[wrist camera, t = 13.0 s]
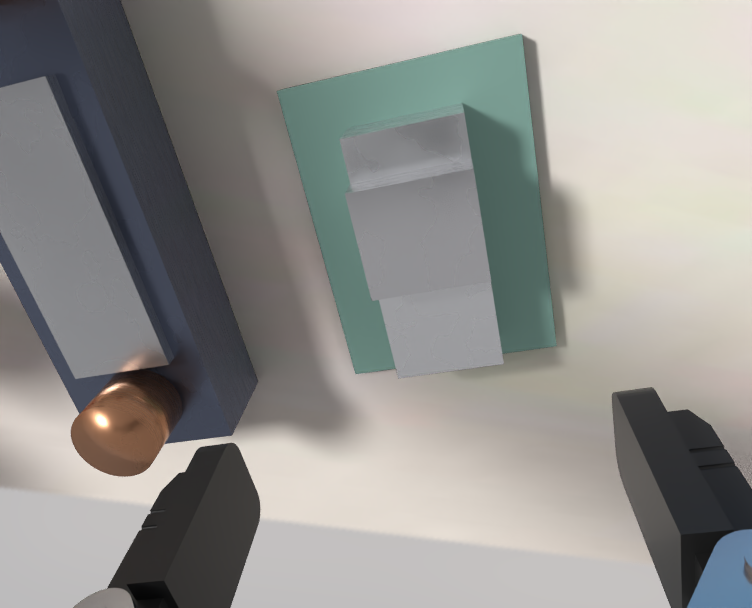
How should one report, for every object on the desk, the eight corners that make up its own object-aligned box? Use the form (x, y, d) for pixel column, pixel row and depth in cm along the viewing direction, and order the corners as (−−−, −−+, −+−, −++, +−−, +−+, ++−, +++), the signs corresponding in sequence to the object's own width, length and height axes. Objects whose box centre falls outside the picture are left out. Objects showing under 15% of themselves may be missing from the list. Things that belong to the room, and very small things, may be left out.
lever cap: (348, 127, 25) (333, 147, 22) (462, 102, 24) (465, 119, 21) (401, 350, 30) (396, 397, 26) (499, 336, 29) (507, 382, 25)
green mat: (280, 89, 25) (276, 91, 25) (520, 33, 24) (522, 34, 23) (357, 367, 31) (355, 374, 31) (554, 339, 29) (556, 346, 29)
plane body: (-67, -46, 24) (-337, -74, 16) (86, -93, 23) (-119, -152, 15) (140, 398, 33) (38, 531, 25) (258, 382, 32) (192, 515, 24)
